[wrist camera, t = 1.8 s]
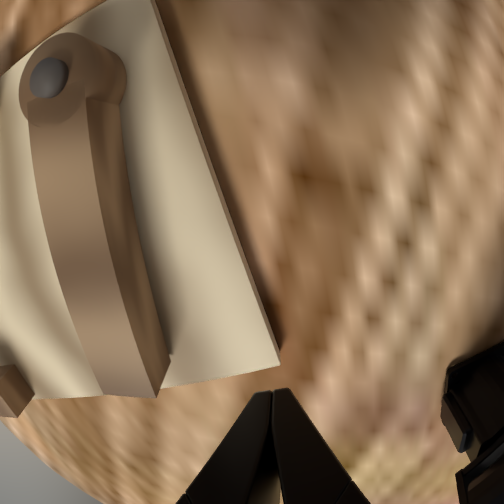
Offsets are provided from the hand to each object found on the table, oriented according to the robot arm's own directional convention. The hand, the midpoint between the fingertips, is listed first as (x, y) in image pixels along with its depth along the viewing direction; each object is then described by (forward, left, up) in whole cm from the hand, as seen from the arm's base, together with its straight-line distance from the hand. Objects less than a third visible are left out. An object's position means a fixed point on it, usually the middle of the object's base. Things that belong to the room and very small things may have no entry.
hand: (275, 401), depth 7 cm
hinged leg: (+6, -5, -8) cm, 11 cm away
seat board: (+13, -5, -9) cm, 16 cm away
